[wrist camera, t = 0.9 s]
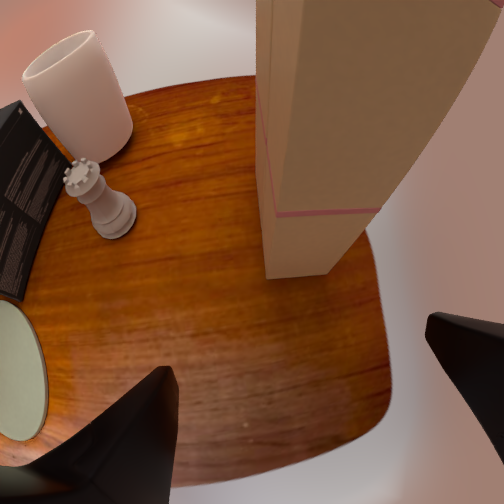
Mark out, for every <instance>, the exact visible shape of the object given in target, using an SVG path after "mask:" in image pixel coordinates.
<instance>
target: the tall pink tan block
mask: <svg viewBox="0 0 504 504" xmlns="http://www.w3.org/2000/svg"><path fill="white" fill-rule="evenodd" d="M273 3H274V0H256V182H257V192H258V201H259V211H260V221H261V229H262V225H263V208H264V190H265V173H266V154H267V151H266V147H267V136H268V116H269V96H270V75H271V53H272V29H273Z"/></svg>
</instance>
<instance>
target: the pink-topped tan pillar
mask: <svg viewBox="0 0 504 504" xmlns="http://www.w3.org/2000/svg"><path fill="white" fill-rule="evenodd" d="M503 5H504V0H274V3H273V29H272V53H271V75H270V96H269V116H268V136H267V147H266V151H267V154H266V173H265V190H264V208H263V225H262V239H263V250H264V260H265V271H266V279H278V278H290V277H301V276H312V275H323V274H328V272H329V271H330V270H331V269H332V268H333V267H334V265H335V264H336V263H337V262H338V261H339V260H340V258H341V257H342V256H343V255H344V254H345V252H346V251H347V250H348V249H349V248H350V246H351V245H352V244H353V243H354V242H355V240H356V239H357V238H358V237H359V235H360V234H361V233H362V232H363V230H364V229H365V228H366V227H367V225H368V224H369V223H370V222H371V220H372V219H373V218H374V217H375V215H376V214H377V213H378V212H379V211H380V209H381V208H382V206H383V205H384V204H385V202H386V201H387V200H388V198H389V197H390V196H391V194H392V193H393V192H394V190H395V189H396V188H397V186H398V185H399V183H400V182H401V181H402V179H403V178H404V177H405V175H406V174H407V172H408V171H409V170H410V168H411V167H412V165H413V164H414V163H415V161H416V160H417V158H418V157H419V155H420V154H421V152H422V151H423V149H424V148H425V147H426V145H427V144H428V142H429V141H430V139H431V138H432V136H433V135H434V133H435V132H436V130H437V129H438V127H439V126H440V124H441V122H442V121H443V119H444V118H445V116H446V115H447V113H448V111H449V110H450V108H451V106H452V105H453V103H454V102H455V100H456V98H457V97H458V95H459V93H460V91H461V90H462V88H463V86H464V85H465V83H466V81H467V79H468V77H469V76H470V74H471V72H472V70H473V68H474V67H475V65H476V63H477V61H478V59H479V57H480V55H481V53H482V51H483V49H484V47H485V45H486V43H487V41H488V39H489V37H490V35H491V33H492V31H493V29H494V27H495V24H496V22H497V20H498V18H499V15H500V13H501V9H500V8H503Z"/></svg>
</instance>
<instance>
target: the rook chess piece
mask: <svg viewBox="0 0 504 504" xmlns="http://www.w3.org/2000/svg"><path fill="white" fill-rule="evenodd" d="M72 165H73V166H74V167H73V168H72V169H71V170H70V169H69V168H67V169H66V171H65V174H66V176H67V177H64V178H63V180H64V183H65V184H66V186H65V187H66V192H67V193H68V194H69V195H70V196H74V197H77V199H78V201H79V202H80V203H83V204H85V205H86V206H87V208H88V209H89V211H90V212H91V213H90V214H91V220H92V223H93V226H94V228H95V229H96V230H97V231H98V233H99V234H100V235H101V236H102V237H104V238H108V239H113V238H118V237H120V236H122V235H123V234H125V233H126V232H127V231H128V230H129V229H130V228H131V227H132V225H133V223H134V220H135V218H136V207H135V205H134V202H133V201H132V200H130V198H129V197H128V196H127V195H125V194H124V193H122V192H117V191H113V190H112V189H110V188H109V187H108V186H107V185H106V183H105V182H106V181H105V179H104V177H103V176H102V175H100V174H99V173H100V168H99V165H98V164H97V163H96V162H94V161H90V160H89V161H88V160H87V158H81V162H80V163H79V162H78V161H77V160H75V161H74V162H72Z"/></svg>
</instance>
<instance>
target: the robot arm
mask: <svg viewBox="0 0 504 504" xmlns="http://www.w3.org/2000/svg"><path fill="white" fill-rule="evenodd" d="M425 338H426V341H427V342H428V344H429V346H430V347H431V349H432V351H433V352H434V354H435V356H436V358H437V359H438V361H439V363H440V364H441V366H442V368H443V369H444V371H445V372H446V374H447V375H448V376H449V378H450V379H451V381H452V382H453V383H454V385H455V386H456V388H457V389H458V391H459V392H460V394H461V395H462V397H463V398H464V400H465V401H466V403H467V404H468V405H469V407H470V409H471V410H472V412H473V413H474V415H475V416H476V418H477V420H478V421H479V423H480V424H481V426H482V427H483V429H484V431H485V432H486V434H487V436H488V437H489V439H490V441H491V442H492V444H493V445H494V448H495V450H496V451H497V453H498V455H499V457H500V458H501V461H502V462H503V464H504V324H500V323H494V322H489V321H484V320H479V319H473V318H468V317H463V316H458V315H453V314H447V313H442V312H435V313H432V314H430V315H429V316H428V319H427V325H426V331H425ZM178 407H179V387H178V384H177V381H176V378H175V375H174V372H173V370H172V368H171V367H170V366H158V367H157V368H156V369H154V370H153V371H152V372H151V373H150V374H149V375H147V376H146V377H145V378H144V379H143V380H141V381H140V382H139V383H138V384H137V385H135V386H134V387H133V388H132V389H131V390H129V391H128V392H127V393H126V394H125V395H123V396H122V397H121V398H120V399H119V400H117V401H116V402H115V403H114V404H113V405H111V406H110V407H109V408H108V409H106V410H105V411H104V412H103V413H102V414H100V415H99V416H98V417H97V418H95V419H94V420H93V421H92V422H91V424H88V425H87V426H85V427H84V428H83V429H82V430H80V431H79V432H78V433H76V434H75V435H74V436H72V437H71V438H70V439H68V440H67V441H65V442H64V443H62V444H61V445H59V446H57V447H56V448H54V449H53V450H51V451H49V452H48V453H46V454H45V455H43V456H41V457H40V458H38V459H36V460H35V461H33V462H31V463H29V464H27V465H24V466H19V467H9V466H0V504H169V496H170V487H171V479H172V471H173V463H174V456H175V448H176V441H177V434H178Z"/></svg>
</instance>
